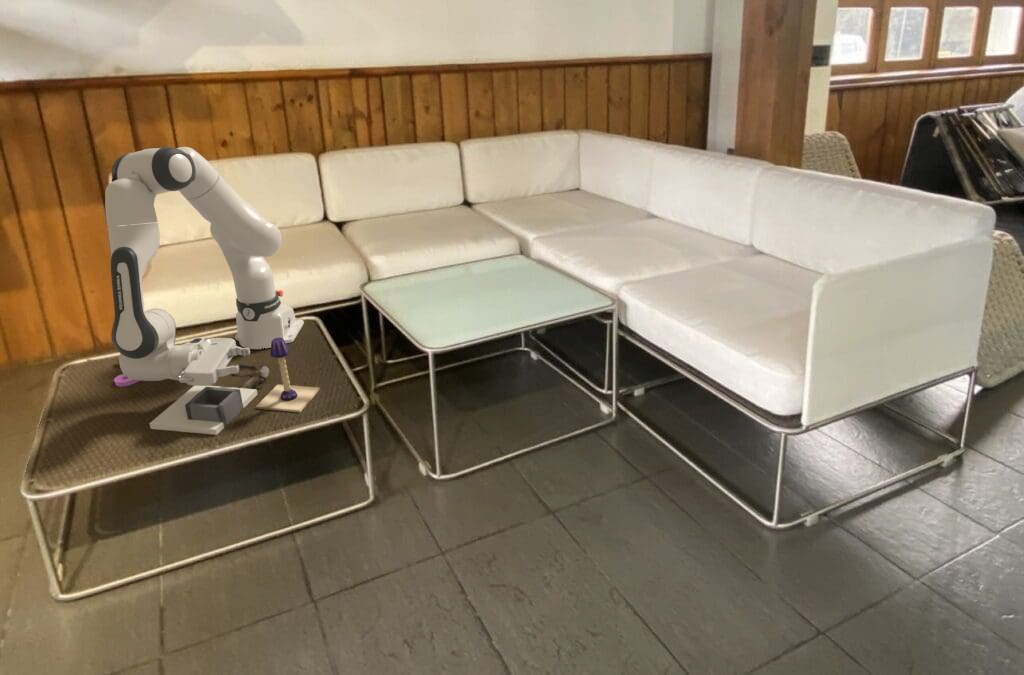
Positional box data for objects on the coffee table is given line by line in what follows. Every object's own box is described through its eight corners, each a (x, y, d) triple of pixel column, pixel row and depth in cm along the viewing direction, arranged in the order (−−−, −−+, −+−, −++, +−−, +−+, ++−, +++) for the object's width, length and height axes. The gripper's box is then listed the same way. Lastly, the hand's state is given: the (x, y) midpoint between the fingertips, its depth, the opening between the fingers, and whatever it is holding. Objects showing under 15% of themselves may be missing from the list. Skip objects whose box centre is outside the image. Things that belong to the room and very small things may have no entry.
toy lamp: (291, 402, 191) (281, 344, 184) (275, 401, 192) (264, 342, 185) (300, 393, 196) (291, 335, 189) (284, 392, 197) (274, 334, 190)
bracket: (153, 365, 214) (148, 343, 211) (165, 369, 212) (160, 347, 209) (111, 383, 204) (104, 361, 201) (123, 388, 202) (116, 365, 199)
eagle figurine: (254, 370, 207) (225, 377, 200) (263, 353, 203) (232, 360, 196) (268, 391, 205) (238, 398, 198) (276, 374, 201) (246, 381, 194)
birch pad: (277, 386, 201) (277, 384, 201) (319, 389, 199) (319, 387, 198) (256, 408, 190) (255, 406, 190) (300, 412, 188) (299, 410, 188)
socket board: (196, 389, 200) (192, 371, 198) (257, 394, 197) (254, 375, 195) (150, 428, 182) (145, 409, 180) (216, 434, 179) (212, 415, 177)
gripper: (170, 370, 178) (229, 368, 179) (199, 334, 197) (252, 332, 197) (176, 393, 181) (234, 391, 181) (204, 355, 199) (256, 354, 200)
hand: (244, 360), depth 189 cm, fingers open, 8 cm apart
